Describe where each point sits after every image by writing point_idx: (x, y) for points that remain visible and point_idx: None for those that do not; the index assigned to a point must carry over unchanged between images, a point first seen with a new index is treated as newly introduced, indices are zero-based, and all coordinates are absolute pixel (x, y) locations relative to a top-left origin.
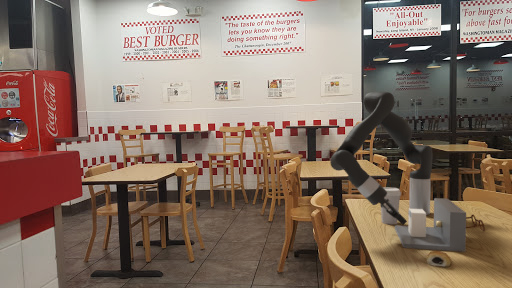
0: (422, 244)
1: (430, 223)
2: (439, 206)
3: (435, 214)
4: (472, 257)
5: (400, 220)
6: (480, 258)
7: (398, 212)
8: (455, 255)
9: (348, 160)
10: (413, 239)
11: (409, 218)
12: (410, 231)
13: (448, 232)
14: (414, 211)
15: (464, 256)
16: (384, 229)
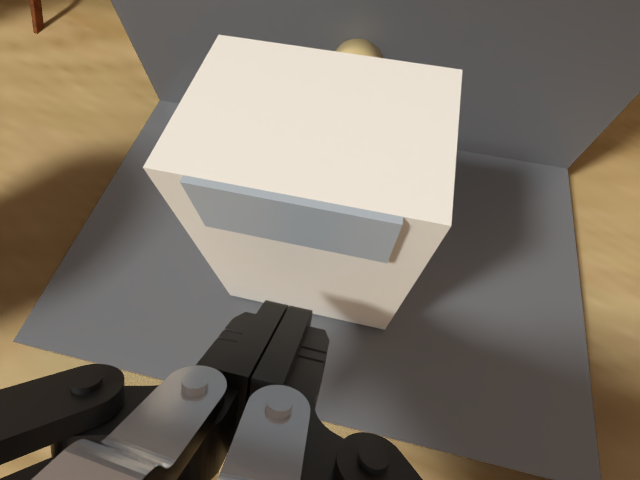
0: (575, 320)
1: (21, 80)
2: None
3: (164, 6)
4: (633, 130)
5: (317, 398)
6: (635, 107)
7: (384, 464)
8: (631, 189)
9: None
10: (451, 340)
11: (259, 250)
12: (338, 310)
13: (585, 98)
14: (347, 155)
15: (631, 156)
16: (14, 460)
